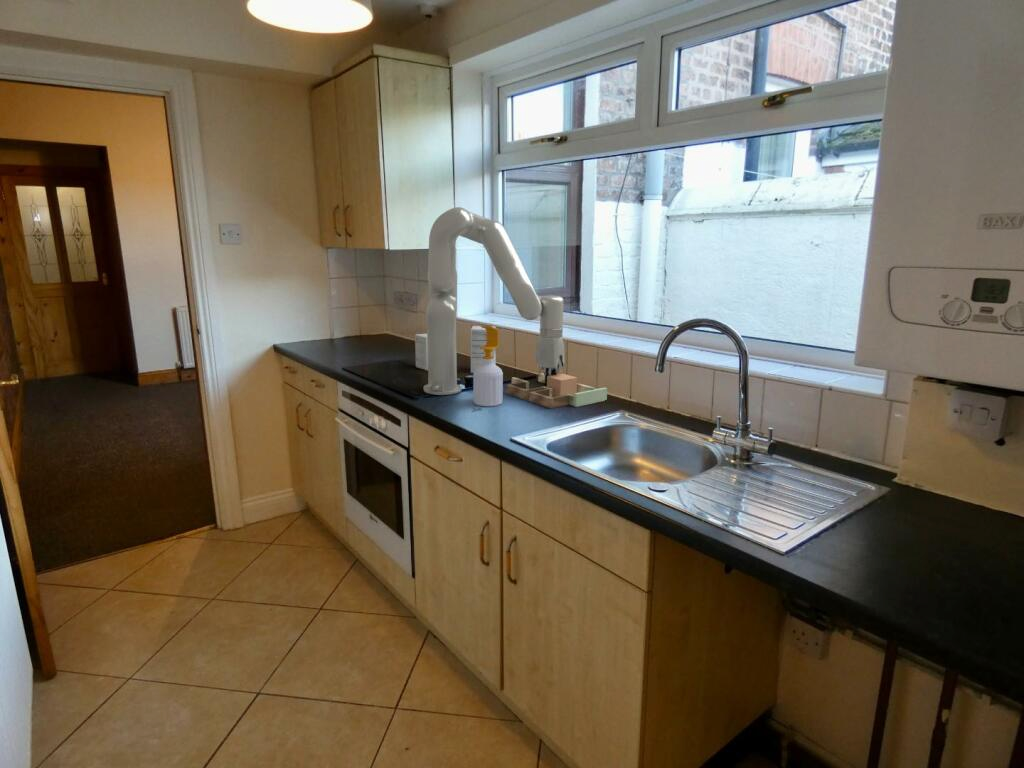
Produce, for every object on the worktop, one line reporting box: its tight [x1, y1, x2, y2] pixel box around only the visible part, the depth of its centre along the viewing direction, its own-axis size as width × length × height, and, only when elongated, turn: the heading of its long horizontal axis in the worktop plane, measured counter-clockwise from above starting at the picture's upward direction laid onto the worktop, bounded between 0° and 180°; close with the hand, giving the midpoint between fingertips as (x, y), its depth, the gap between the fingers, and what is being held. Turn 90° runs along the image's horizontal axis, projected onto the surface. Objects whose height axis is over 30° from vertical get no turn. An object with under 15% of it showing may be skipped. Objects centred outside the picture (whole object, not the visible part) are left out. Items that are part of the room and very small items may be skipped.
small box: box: [414, 333, 428, 371], centre depth 244 cm, size 8×6×13 cm
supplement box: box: [470, 325, 497, 374], centre depth 240 cm, size 10×9×17 cm
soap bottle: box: [472, 325, 504, 408], centre depth 194 cm, size 9×9×25 cm
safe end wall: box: [573, 387, 608, 408], centre depth 197 cm, size 1×13×4 cm, turn 128°
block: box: [547, 373, 578, 397], centre depth 207 cm, size 7×7×6 cm
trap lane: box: [505, 372, 598, 409], centre depth 208 cm, size 31×21×3 cm
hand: (549, 386), depth 213 cm, fingers closed
